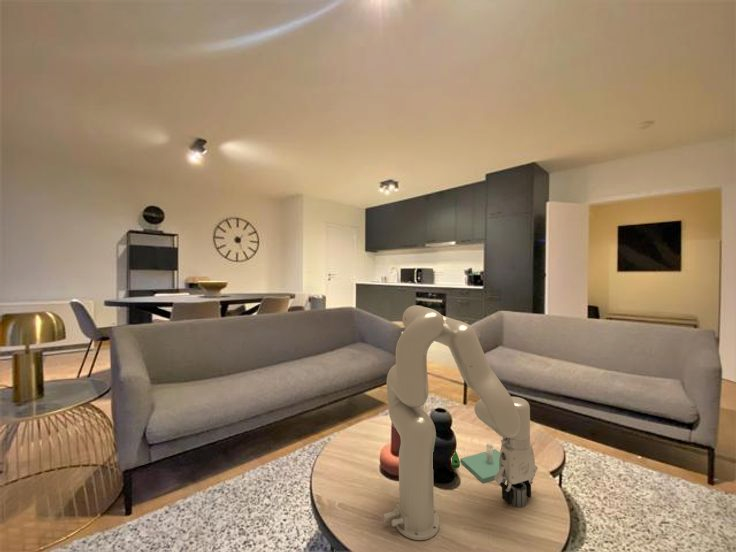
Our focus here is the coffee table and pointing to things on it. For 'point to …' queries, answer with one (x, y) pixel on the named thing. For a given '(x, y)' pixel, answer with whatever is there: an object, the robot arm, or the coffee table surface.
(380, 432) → the coffee table surface
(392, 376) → the robot arm
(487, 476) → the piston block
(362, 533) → the coffee table surface
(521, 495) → the grey ribbed cylinder
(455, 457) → the clamp
